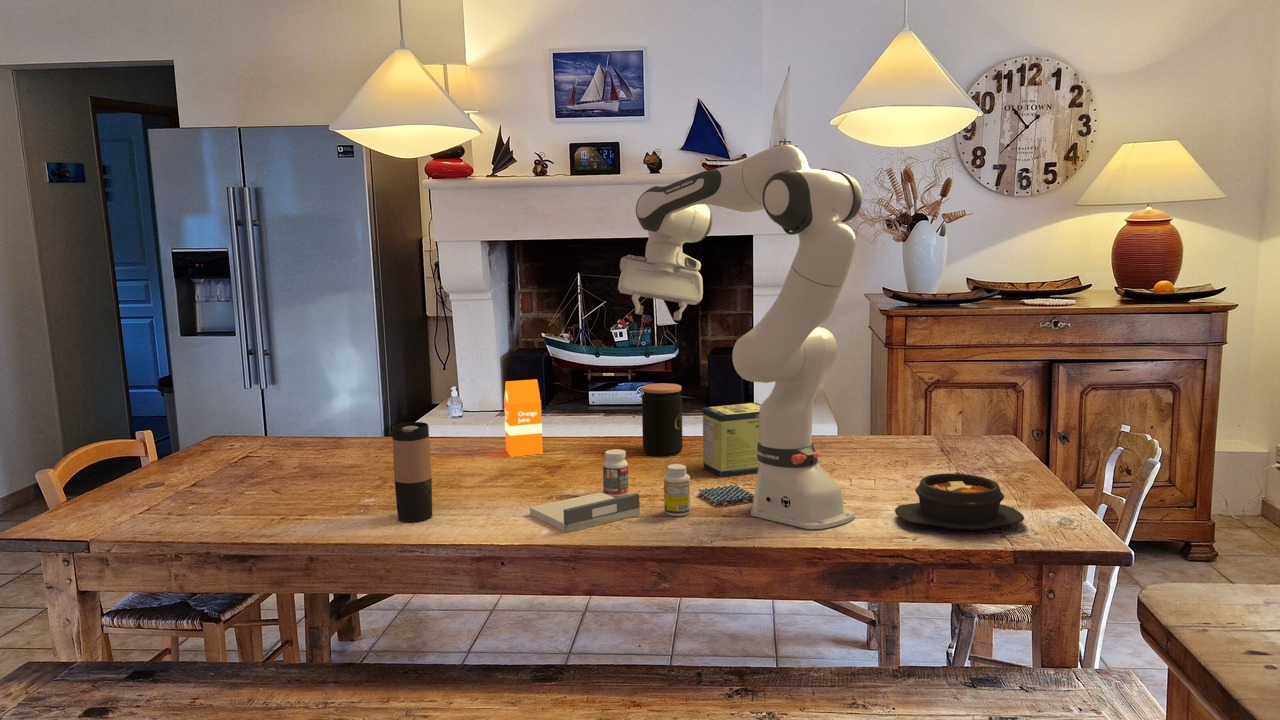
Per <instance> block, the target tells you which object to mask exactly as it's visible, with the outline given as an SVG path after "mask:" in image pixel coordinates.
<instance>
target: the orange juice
mask: <svg viewBox="0 0 1280 720" xmlns="http://www.w3.org/2000/svg"><path fill="white" fill-rule="evenodd" d="M504 387H505V388H504V398H503V408H504V409H503V410H504V431H505V433H504V434H505V435H504V436H505V451H507V452H508V453H507V452H506V453H507V454H509V455H510V456H523V457H525V456H524V455H534V456H536V455H535V454H544V451H543V450H544V449H543V448H544V447H543V423H542V421H543V420H542V400H541V395H540V388H539V382H538V379H536V378H535V379H524V380H523V379H521V380H510V381H508V380H507V381H505V386H504ZM509 455H508V456H509ZM510 456H509V457H510Z"/></svg>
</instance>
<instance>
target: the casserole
mask: <svg viewBox="0 0 1280 720" xmlns="http://www.w3.org/2000/svg"><path fill="white" fill-rule="evenodd" d="M915 493H916V495H917V496H918V500H919V502H913V503H906V504H899V505H898V506H897V507H895V510H894V512H895V514H896V516H897V517H899V518H900V519H902V520H904V521H905V522H908V523H910V524H916V525H925V526H934V527H938V528H941V529H945V530H950V531H951V530H952V531H958V530H959V531H961V532H962V531H963V532H967V531H968V532H971V531H982V530H984V529H992V528H996V527H1000V526H1004V525H1006V526H1008V525H1016V524H1019V523H1021V522H1024V520H1025V516H1024V515H1023V514H1022V513H1021V512H1020V511H1019V510H1017V509H1016V508H1013V507H1012V506H1009V505H1006V504H1001V502H1002V501H1003V500H1004V498H1005V495H1004V493H1003V492H1002V491H1001V488H1000V485H999V484H998V482H996V481H994V480H992V479H990V478H987V477H983V476H979V475H972V474H967V473H953V472H951V473H935V474H931V475H930V474H929V475H927V476H924V477H922V478H921V479H920V481H919V484H918V486H917V487H916V488H915Z"/></svg>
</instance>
